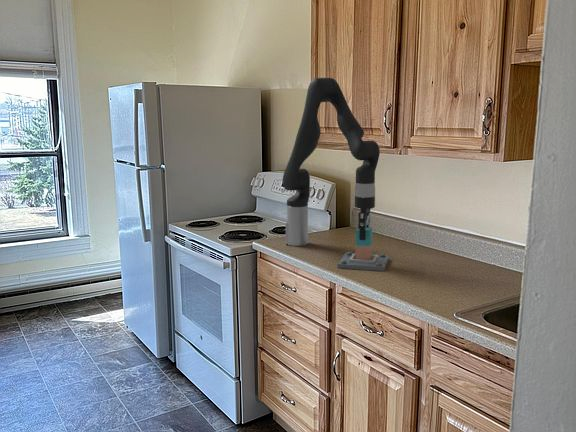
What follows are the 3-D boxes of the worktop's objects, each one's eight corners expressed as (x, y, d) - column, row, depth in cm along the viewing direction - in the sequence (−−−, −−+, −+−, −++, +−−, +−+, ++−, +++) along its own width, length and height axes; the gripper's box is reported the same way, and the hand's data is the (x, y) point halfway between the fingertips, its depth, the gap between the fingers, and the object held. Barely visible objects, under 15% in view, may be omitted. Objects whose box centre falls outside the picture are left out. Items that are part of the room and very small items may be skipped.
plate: (337, 267, 196) (337, 261, 195) (345, 256, 212) (345, 250, 211) (383, 271, 191) (384, 264, 191) (388, 259, 207) (388, 253, 207)
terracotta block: (355, 261, 199) (355, 245, 198) (357, 257, 205) (357, 242, 204) (369, 261, 198) (370, 246, 197) (371, 258, 203) (372, 243, 202)
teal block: (355, 245, 198) (355, 229, 197) (357, 242, 204) (357, 226, 203) (370, 246, 197) (370, 230, 196) (372, 243, 202) (372, 227, 201)
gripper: (357, 192, 205) (357, 233, 208) (351, 197, 191) (351, 241, 194) (377, 192, 203) (376, 234, 205) (372, 198, 189) (371, 242, 192)
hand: (364, 237), depth 200 cm, fingers open, 8 cm apart
